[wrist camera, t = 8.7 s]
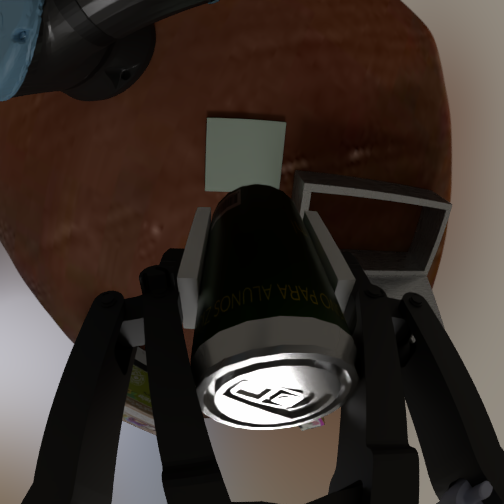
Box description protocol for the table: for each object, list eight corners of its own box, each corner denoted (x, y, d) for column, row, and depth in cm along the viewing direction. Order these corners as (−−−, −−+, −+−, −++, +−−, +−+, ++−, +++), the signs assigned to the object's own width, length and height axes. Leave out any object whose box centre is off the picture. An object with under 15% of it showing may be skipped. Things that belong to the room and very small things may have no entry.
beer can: (196, 231, 18) (159, 408, 8) (244, 162, 16) (260, 314, 5) (264, 269, 20) (286, 438, 9) (314, 211, 17) (397, 373, 7)
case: (284, 169, 37) (320, 229, 21) (431, 190, 39) (505, 245, 23) (271, 278, 46) (286, 370, 31) (401, 279, 48) (447, 350, 32)
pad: (207, 117, 33) (207, 118, 32) (285, 122, 34) (286, 122, 33) (205, 189, 38) (205, 190, 37) (278, 192, 39) (278, 194, 38)
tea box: (189, 373, 60) (183, 429, 47) (166, 387, 63) (159, 437, 51) (134, 342, 54) (117, 400, 41) (115, 359, 57) (99, 411, 45)
